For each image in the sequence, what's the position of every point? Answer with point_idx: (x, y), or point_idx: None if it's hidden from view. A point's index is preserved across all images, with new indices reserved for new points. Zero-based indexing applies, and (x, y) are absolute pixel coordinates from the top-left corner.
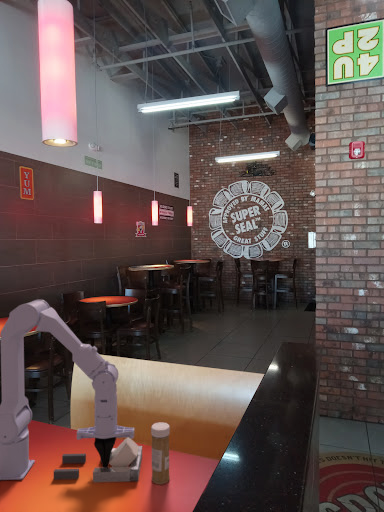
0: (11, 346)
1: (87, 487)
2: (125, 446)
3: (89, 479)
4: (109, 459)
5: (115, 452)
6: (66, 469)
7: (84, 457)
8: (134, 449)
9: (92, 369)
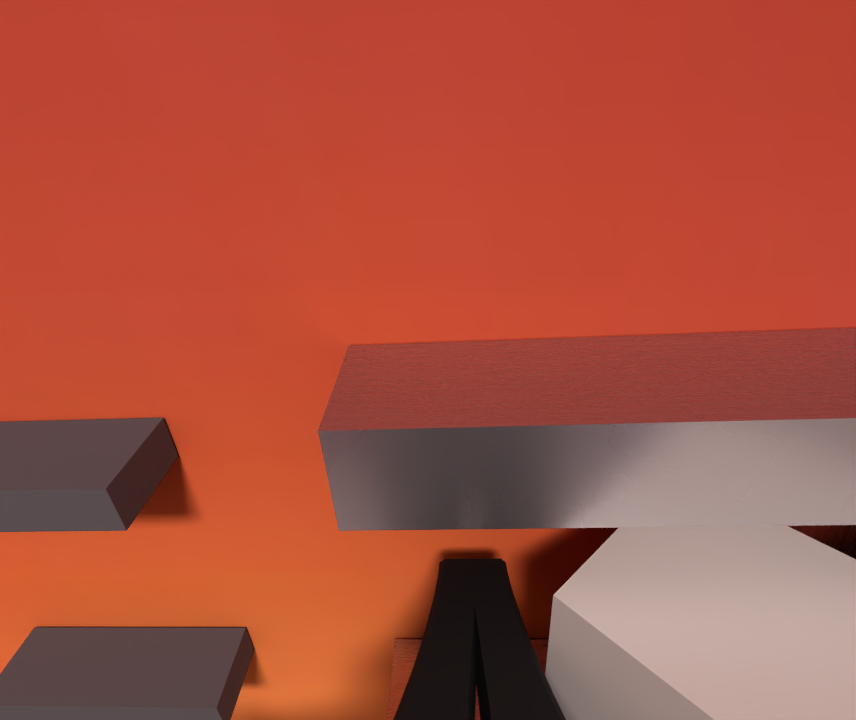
0: None
1: (378, 711)
2: None
3: (356, 652)
4: (513, 599)
5: None
6: (96, 712)
7: (133, 506)
8: None
9: None
